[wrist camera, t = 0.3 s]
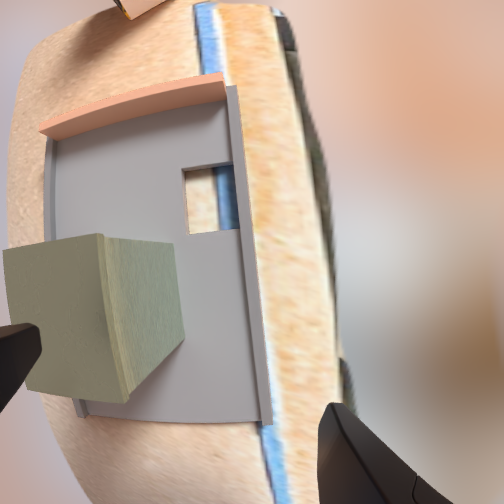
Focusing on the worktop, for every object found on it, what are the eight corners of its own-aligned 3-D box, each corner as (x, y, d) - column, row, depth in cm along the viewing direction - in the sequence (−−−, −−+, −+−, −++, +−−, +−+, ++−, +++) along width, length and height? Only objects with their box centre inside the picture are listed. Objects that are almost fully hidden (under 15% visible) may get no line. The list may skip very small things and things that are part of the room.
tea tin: (186, 338, 22) (124, 403, 11) (114, 340, 22) (27, 389, 11) (174, 241, 22) (96, 233, 11) (102, 251, 22) (2, 250, 12)
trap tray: (272, 413, 23) (273, 439, 19) (87, 409, 24) (66, 427, 20) (238, 95, 23) (233, 70, 19) (57, 139, 24) (33, 126, 20)
